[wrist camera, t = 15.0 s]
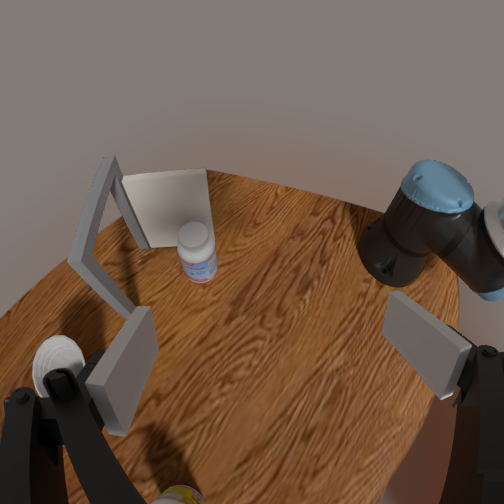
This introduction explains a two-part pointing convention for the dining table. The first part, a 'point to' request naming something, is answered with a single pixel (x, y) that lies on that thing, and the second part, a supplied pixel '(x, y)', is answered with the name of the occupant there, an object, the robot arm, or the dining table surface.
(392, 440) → the dining table surface
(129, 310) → the door frame
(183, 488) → the supplement bottle
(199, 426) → the dining table surface
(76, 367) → the plastic cup
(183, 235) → the pill bottle
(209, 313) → the dining table surface
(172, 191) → the door
